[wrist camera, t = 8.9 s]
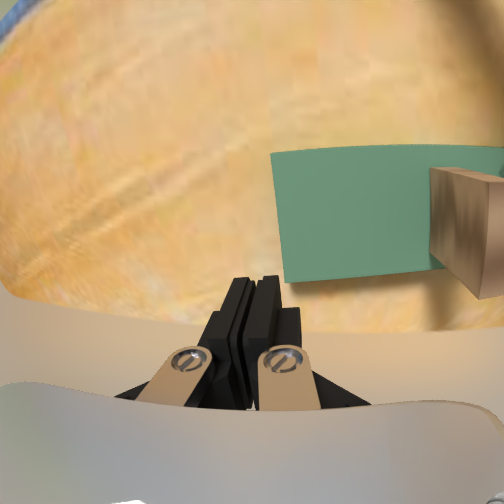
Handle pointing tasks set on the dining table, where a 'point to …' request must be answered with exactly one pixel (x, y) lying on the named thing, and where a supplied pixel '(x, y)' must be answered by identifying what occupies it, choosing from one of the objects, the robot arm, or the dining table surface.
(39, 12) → the dining table surface
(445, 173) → the upright wooden plank
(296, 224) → the putting mat
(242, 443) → the robot arm
